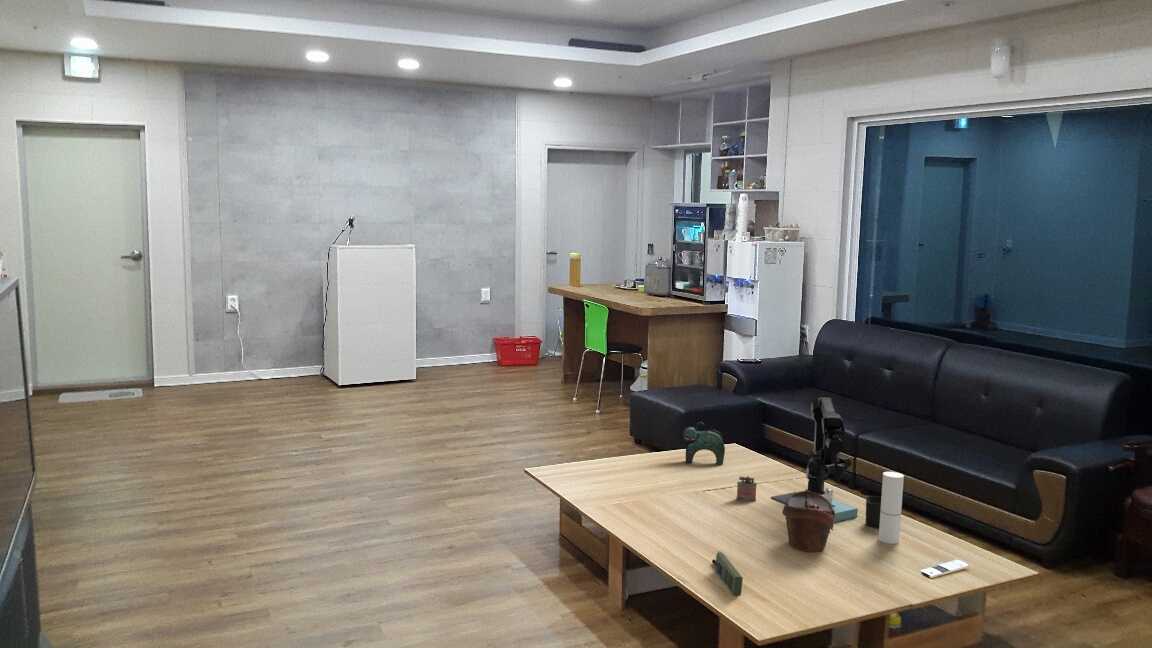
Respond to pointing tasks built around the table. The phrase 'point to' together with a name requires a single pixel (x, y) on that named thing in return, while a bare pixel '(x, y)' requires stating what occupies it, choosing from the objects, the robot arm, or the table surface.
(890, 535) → the cylindrical container
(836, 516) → the teal square hole block
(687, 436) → the ceramic cat
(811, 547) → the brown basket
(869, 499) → the pen holder
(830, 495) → the steel pin
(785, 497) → the rubber mat
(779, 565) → the table surface
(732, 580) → the handheld radio
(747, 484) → the lighter
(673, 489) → the table surface
